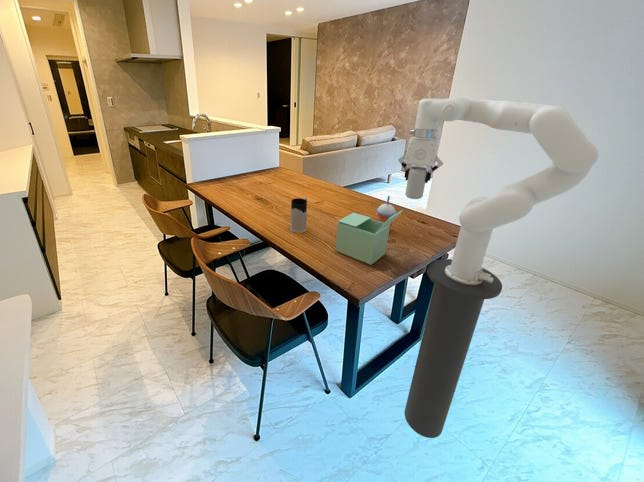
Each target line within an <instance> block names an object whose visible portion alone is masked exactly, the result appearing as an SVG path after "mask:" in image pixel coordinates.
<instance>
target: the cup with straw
mask: <svg viewBox="0 0 644 482" xmlns="http://www.w3.org/2000/svg"><path fill="white" fill-rule="evenodd" d="M390 198H391V196H390V195H387V200H386V203H382V204H381V205H380V206H379V207H377V208H376V221H379V222H382V223H385V222H386V221H387V220H388V218H390V217H392V216H393V215H395V214H396V213H397V210H396V209H395V207H394V206H393V205H392V204H390ZM393 222H394V221H393ZM393 222H392V223H391V224H390V229H389V232H391V228H392V226H393Z"/></svg>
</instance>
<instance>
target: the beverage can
mask: <svg viewBox="0 0 644 482" xmlns="http://www.w3.org/2000/svg"><path fill="white" fill-rule="evenodd" d="M427 172H428V168H427V167H426V166H421V165H412V166H410V170H409V175H408V180H406V188H405V194H404V195H405V196H406V198H408V199H412V200H420V199H421V198H423V196H424V192H425V186H426V183H425V180H426V174H427Z"/></svg>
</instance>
